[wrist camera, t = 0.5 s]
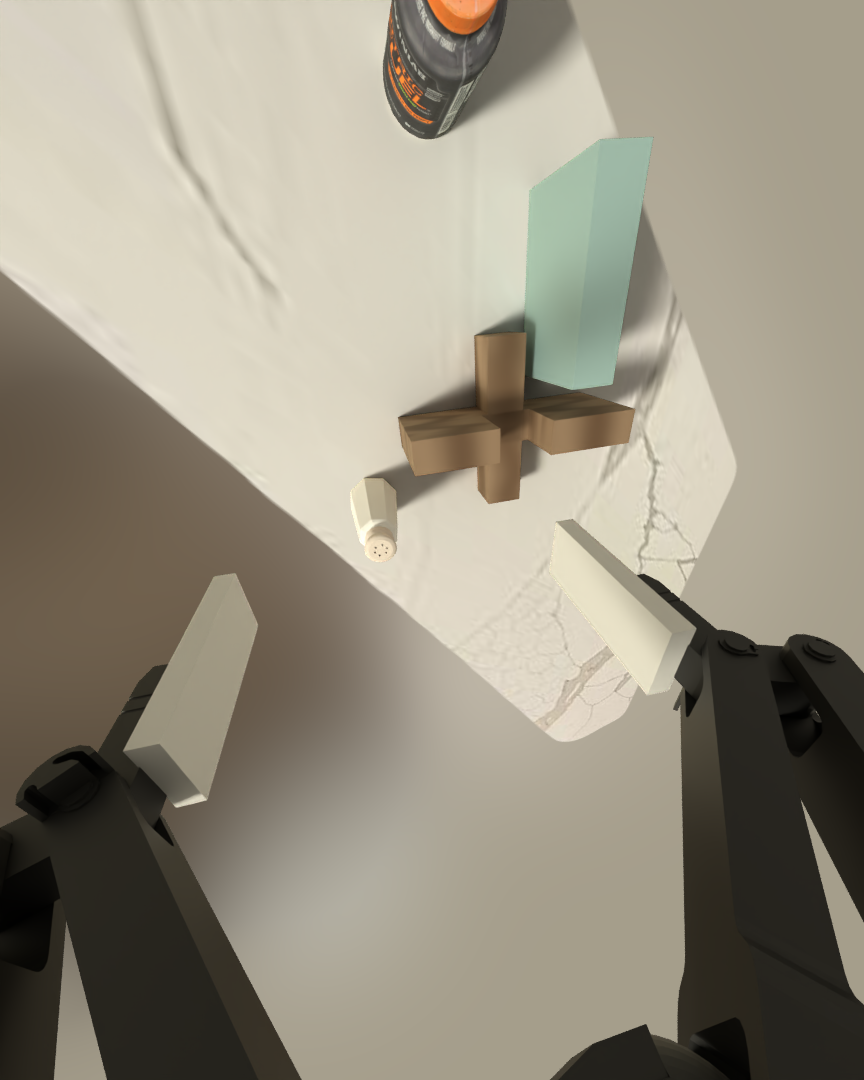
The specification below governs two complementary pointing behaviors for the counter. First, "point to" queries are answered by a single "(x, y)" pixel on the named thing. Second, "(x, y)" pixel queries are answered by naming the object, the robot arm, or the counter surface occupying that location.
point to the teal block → (582, 262)
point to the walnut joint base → (508, 423)
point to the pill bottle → (437, 59)
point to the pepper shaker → (375, 517)
